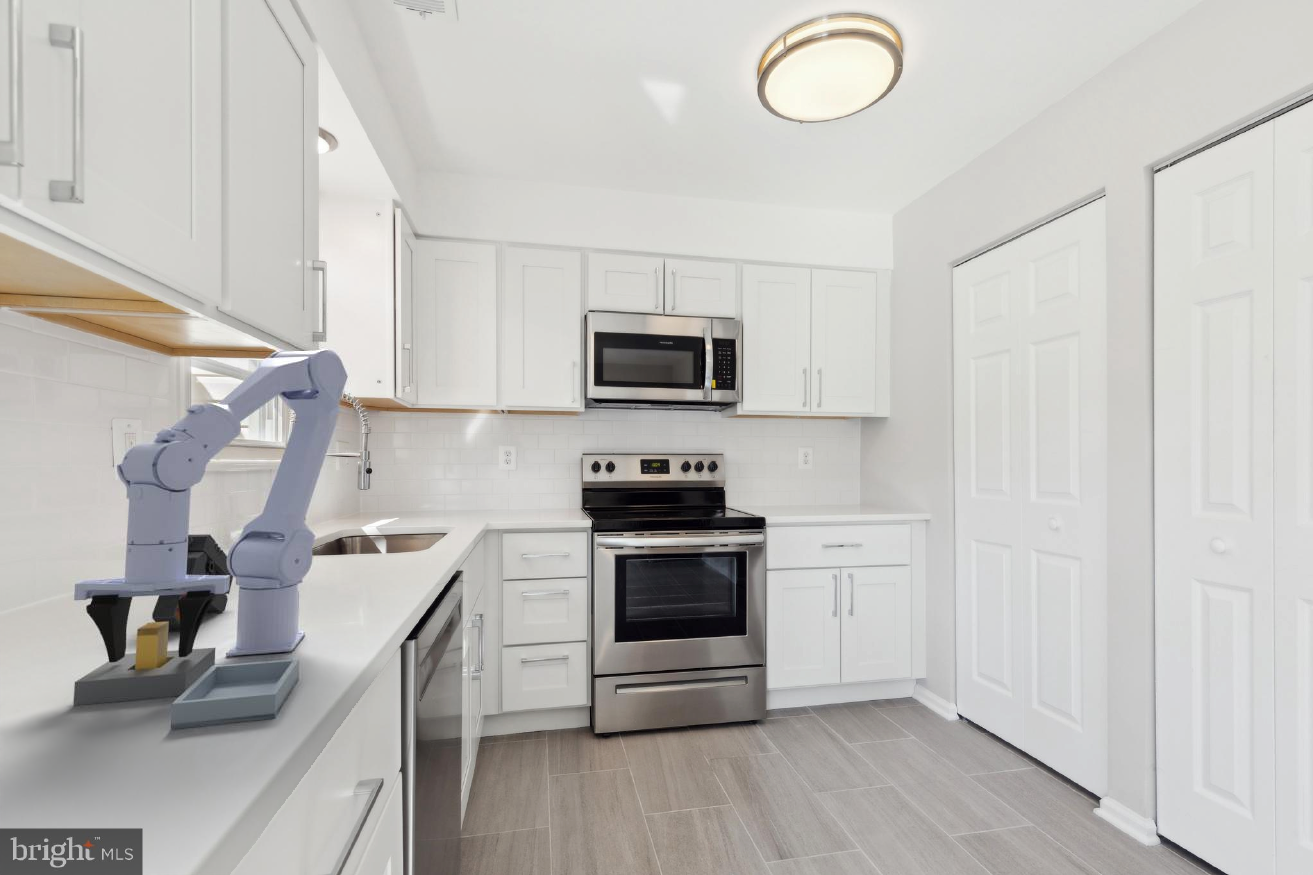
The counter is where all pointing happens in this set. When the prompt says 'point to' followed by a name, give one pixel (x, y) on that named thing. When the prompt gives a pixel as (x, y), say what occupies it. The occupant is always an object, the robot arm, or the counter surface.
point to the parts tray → (236, 694)
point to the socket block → (143, 678)
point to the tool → (200, 561)
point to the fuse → (152, 645)
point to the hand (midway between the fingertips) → (151, 657)
